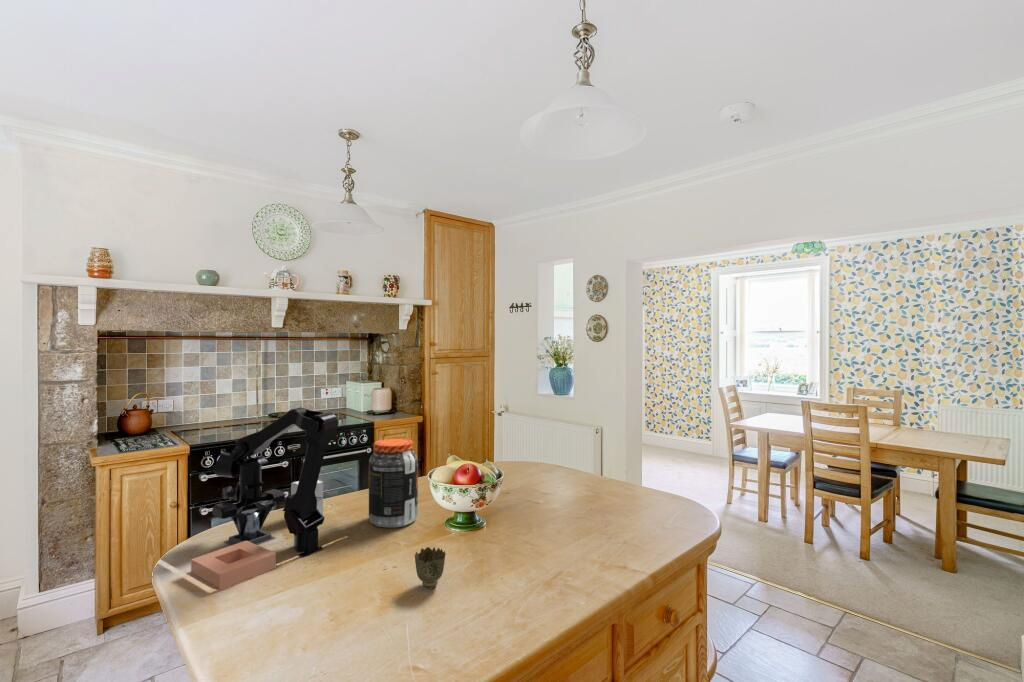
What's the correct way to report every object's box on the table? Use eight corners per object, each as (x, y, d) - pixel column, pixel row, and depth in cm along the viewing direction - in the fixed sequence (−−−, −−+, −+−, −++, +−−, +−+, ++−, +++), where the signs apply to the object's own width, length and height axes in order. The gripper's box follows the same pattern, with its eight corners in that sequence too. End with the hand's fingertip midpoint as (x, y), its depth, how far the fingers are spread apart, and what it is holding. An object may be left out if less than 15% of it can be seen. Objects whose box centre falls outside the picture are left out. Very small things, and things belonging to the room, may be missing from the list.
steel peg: (263, 538, 147) (263, 511, 147) (246, 544, 143) (246, 516, 142) (253, 535, 149) (253, 508, 149) (236, 540, 145) (237, 513, 145)
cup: (431, 596, 117) (431, 562, 117) (407, 588, 121) (408, 555, 121) (451, 583, 124) (451, 551, 123) (428, 575, 127) (428, 544, 127)
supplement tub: (425, 523, 162) (426, 443, 162) (378, 533, 154) (378, 449, 153) (406, 508, 176) (407, 435, 175) (361, 517, 167) (362, 440, 166)
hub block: (275, 568, 130) (275, 553, 130) (219, 591, 119) (220, 574, 119) (246, 554, 138) (246, 540, 138) (191, 575, 126) (191, 559, 126)
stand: (276, 540, 147) (276, 534, 147) (242, 553, 139) (242, 545, 139) (257, 533, 153) (257, 526, 153) (223, 544, 145) (223, 537, 144)
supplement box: (302, 526, 159) (302, 486, 158) (290, 520, 163) (290, 482, 163) (323, 519, 165) (323, 481, 164) (311, 514, 169) (311, 477, 169)
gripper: (265, 467, 158) (265, 516, 158) (202, 481, 142) (202, 536, 143) (286, 473, 152) (286, 524, 152) (222, 488, 136) (222, 546, 136)
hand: (250, 532), depth 146 cm, fingers closed on steel peg, 5 cm apart
